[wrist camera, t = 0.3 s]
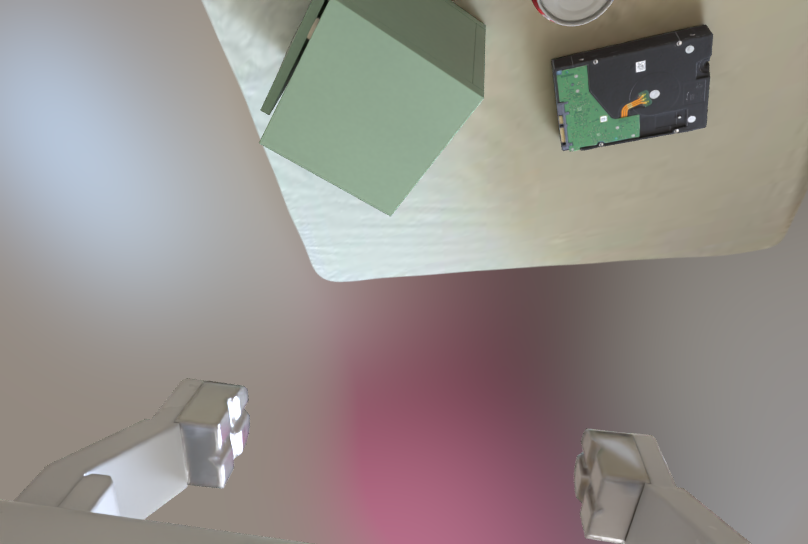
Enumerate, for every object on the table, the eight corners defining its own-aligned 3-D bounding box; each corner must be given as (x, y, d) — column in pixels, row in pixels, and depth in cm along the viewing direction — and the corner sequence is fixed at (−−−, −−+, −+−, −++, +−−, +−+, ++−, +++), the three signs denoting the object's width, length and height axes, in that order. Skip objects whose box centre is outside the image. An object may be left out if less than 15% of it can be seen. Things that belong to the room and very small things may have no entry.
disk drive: (705, 19, 54) (548, 58, 58) (713, 30, 52) (551, 69, 56) (700, 115, 61) (560, 144, 65) (708, 128, 59) (563, 157, 63)
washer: (299, 67, 62) (255, 141, 51) (363, -62, 53) (326, -7, 41) (408, 133, 66) (390, 216, 55) (486, 25, 57) (484, 98, 45)
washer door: (256, 39, 59) (219, 86, 51) (308, -83, 51) (273, -50, 43) (299, 65, 61) (269, 115, 52) (355, -50, 52) (330, -11, 44)
